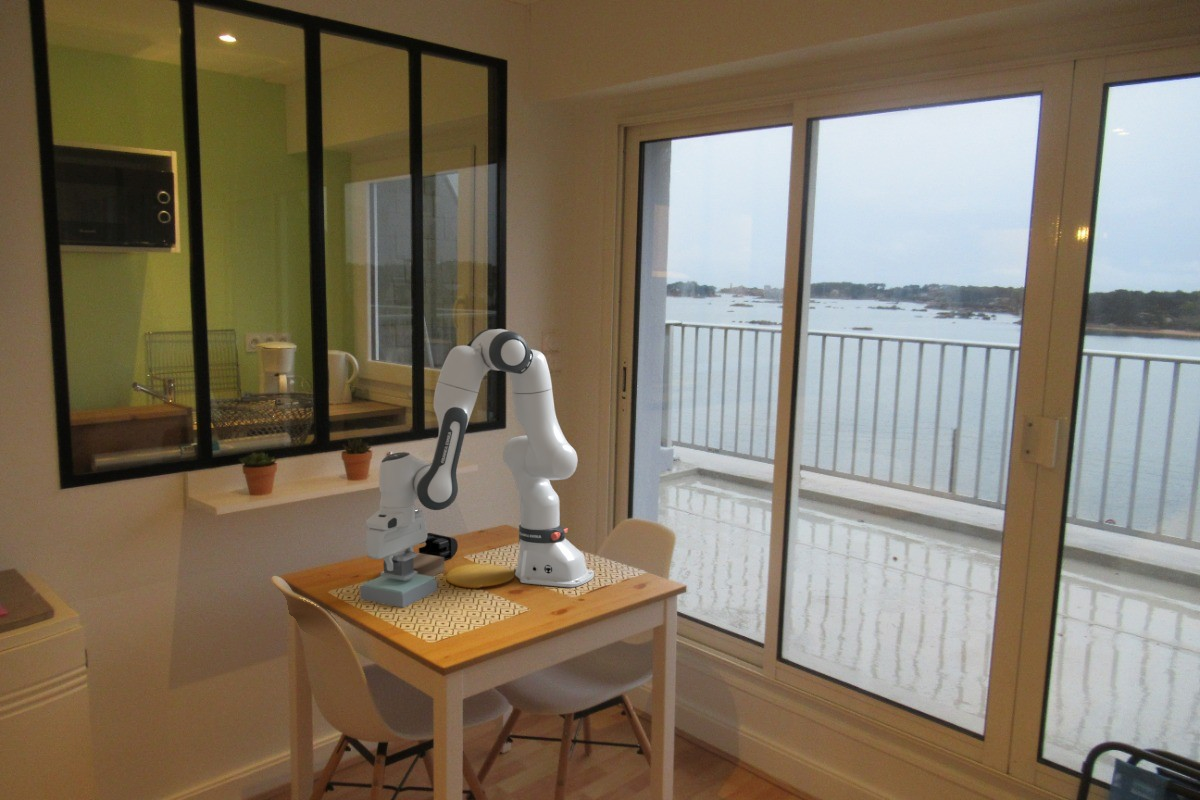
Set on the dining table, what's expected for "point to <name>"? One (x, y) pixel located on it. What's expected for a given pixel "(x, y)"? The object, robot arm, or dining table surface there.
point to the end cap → (439, 546)
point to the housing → (401, 566)
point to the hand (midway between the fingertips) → (399, 566)
